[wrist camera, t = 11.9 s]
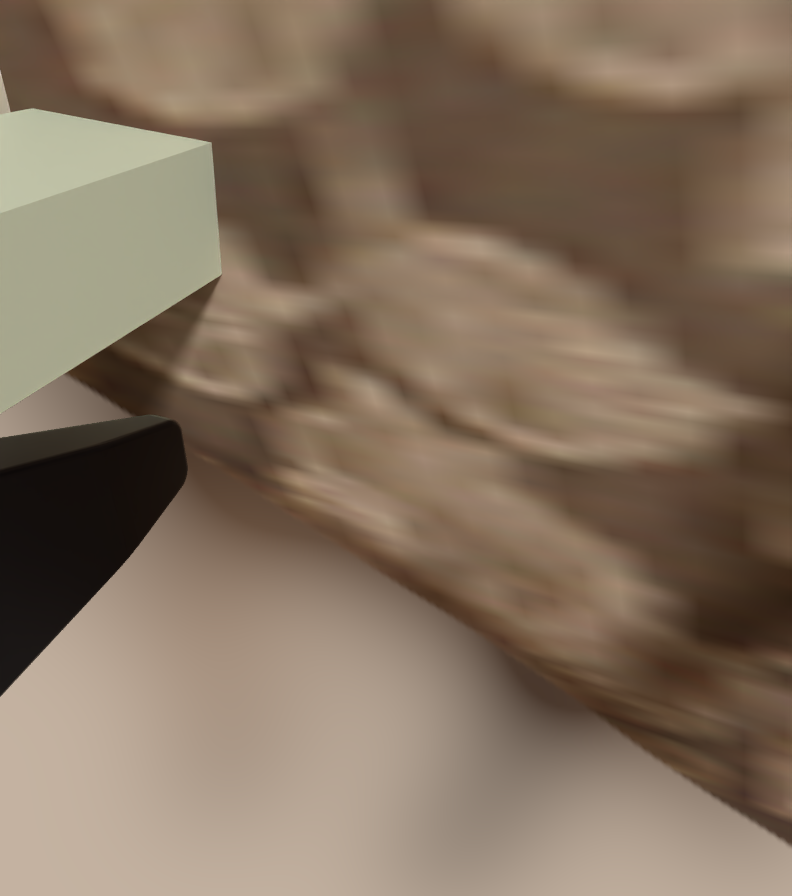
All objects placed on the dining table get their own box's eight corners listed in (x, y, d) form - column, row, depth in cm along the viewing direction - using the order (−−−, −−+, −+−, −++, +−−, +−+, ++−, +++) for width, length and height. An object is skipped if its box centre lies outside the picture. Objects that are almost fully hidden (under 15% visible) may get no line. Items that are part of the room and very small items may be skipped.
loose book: (32, 108, 22) (-373, 184, 14) (211, 142, 21) (-119, 253, 12) (61, 235, 25) (-263, 366, 16) (221, 274, 23) (-43, 440, 15)
